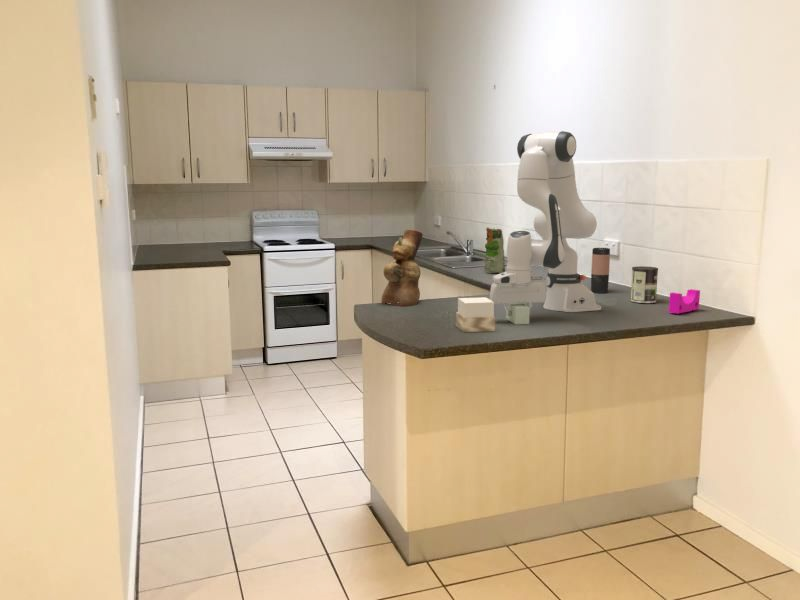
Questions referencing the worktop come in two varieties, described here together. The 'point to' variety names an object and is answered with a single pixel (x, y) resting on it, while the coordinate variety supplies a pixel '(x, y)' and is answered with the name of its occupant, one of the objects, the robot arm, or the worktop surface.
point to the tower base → (475, 323)
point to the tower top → (475, 307)
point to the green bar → (518, 313)
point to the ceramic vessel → (403, 272)
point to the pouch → (494, 252)
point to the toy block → (684, 301)
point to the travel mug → (600, 270)
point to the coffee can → (644, 284)
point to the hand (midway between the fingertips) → (517, 315)
